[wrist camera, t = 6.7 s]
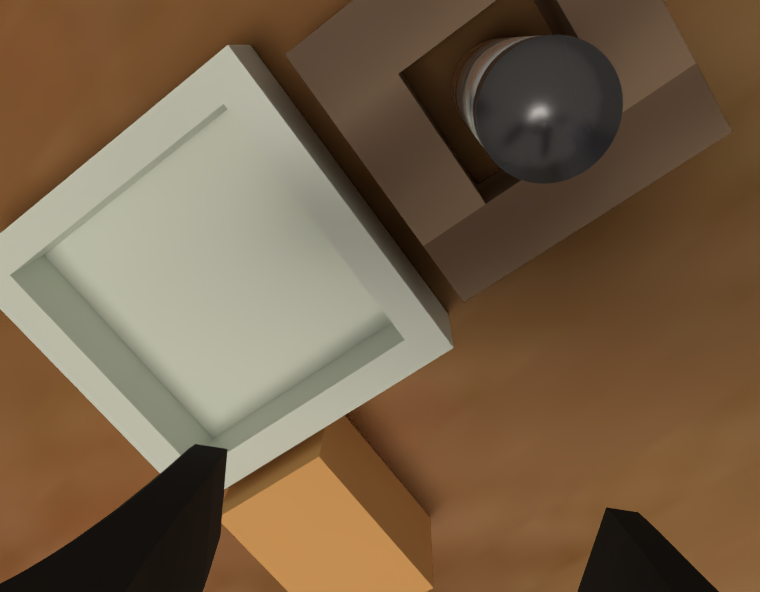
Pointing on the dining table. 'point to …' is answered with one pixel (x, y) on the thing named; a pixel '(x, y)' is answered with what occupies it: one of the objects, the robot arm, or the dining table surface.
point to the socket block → (501, 190)
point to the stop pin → (539, 104)
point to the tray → (218, 277)
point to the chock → (332, 518)
